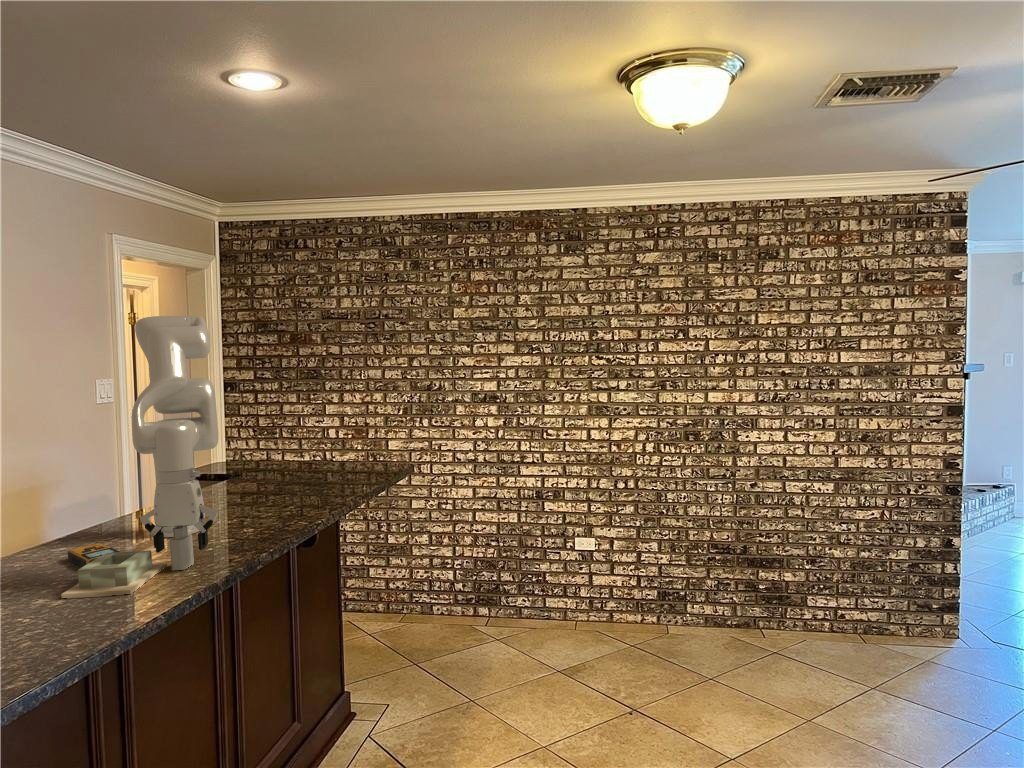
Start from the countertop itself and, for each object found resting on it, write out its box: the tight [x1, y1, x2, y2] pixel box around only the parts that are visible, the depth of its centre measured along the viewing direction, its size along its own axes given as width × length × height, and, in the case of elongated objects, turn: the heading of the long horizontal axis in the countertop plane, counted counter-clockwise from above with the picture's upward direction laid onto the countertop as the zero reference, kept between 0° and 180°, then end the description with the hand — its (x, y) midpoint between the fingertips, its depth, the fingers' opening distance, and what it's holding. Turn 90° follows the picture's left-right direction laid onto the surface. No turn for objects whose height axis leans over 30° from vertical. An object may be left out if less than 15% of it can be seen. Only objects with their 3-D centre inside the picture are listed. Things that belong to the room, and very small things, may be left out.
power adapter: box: [169, 526, 195, 571], centre depth 165 cm, size 3×5×12 cm, turn 177°
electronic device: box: [67, 542, 121, 568], centre depth 173 cm, size 8×16×3 cm, turn 49°
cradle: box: [60, 549, 168, 599], centre depth 156 cm, size 18×14×5 cm
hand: (181, 549), depth 165 cm, fingers open, 9 cm apart
